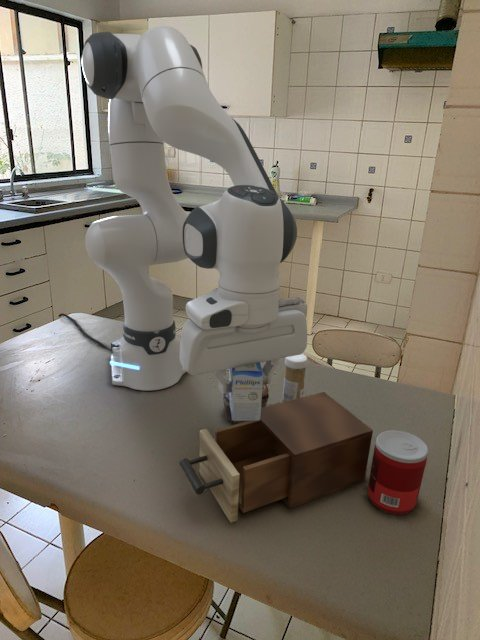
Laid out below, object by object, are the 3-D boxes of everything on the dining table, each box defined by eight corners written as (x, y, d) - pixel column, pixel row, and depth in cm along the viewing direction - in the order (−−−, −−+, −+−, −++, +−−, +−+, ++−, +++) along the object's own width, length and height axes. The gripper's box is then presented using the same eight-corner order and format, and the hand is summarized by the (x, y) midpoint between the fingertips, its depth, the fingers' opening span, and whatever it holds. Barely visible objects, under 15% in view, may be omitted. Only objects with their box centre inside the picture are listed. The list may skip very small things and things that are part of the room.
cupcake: (256, 400, 104) (258, 360, 101) (274, 423, 96) (277, 381, 92) (215, 406, 101) (216, 366, 98) (230, 431, 93) (232, 388, 89)
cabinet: (289, 509, 74) (294, 455, 70) (249, 458, 85) (252, 409, 81) (364, 481, 81) (373, 430, 77) (318, 437, 92) (324, 391, 88)
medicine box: (227, 395, 77) (229, 347, 74) (254, 394, 77) (256, 347, 74) (231, 422, 70) (233, 371, 67) (261, 421, 70) (263, 370, 67)
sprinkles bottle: (306, 413, 100) (312, 358, 95) (289, 419, 98) (295, 362, 93) (292, 403, 104) (297, 349, 99) (276, 409, 101) (280, 354, 96)
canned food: (426, 510, 75) (439, 455, 71) (383, 520, 73) (394, 463, 69) (398, 479, 82) (409, 426, 78) (358, 486, 80) (367, 433, 75)
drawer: (202, 533, 68) (203, 485, 65) (174, 480, 78) (173, 436, 75) (309, 494, 76) (314, 450, 73) (271, 450, 86) (274, 410, 83)
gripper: (296, 289, 74) (290, 366, 79) (174, 305, 65) (176, 390, 70) (319, 301, 69) (311, 383, 74) (191, 320, 60) (191, 411, 65)
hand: (244, 387), depth 72 cm, fingers closed on medicine box, 5 cm apart
